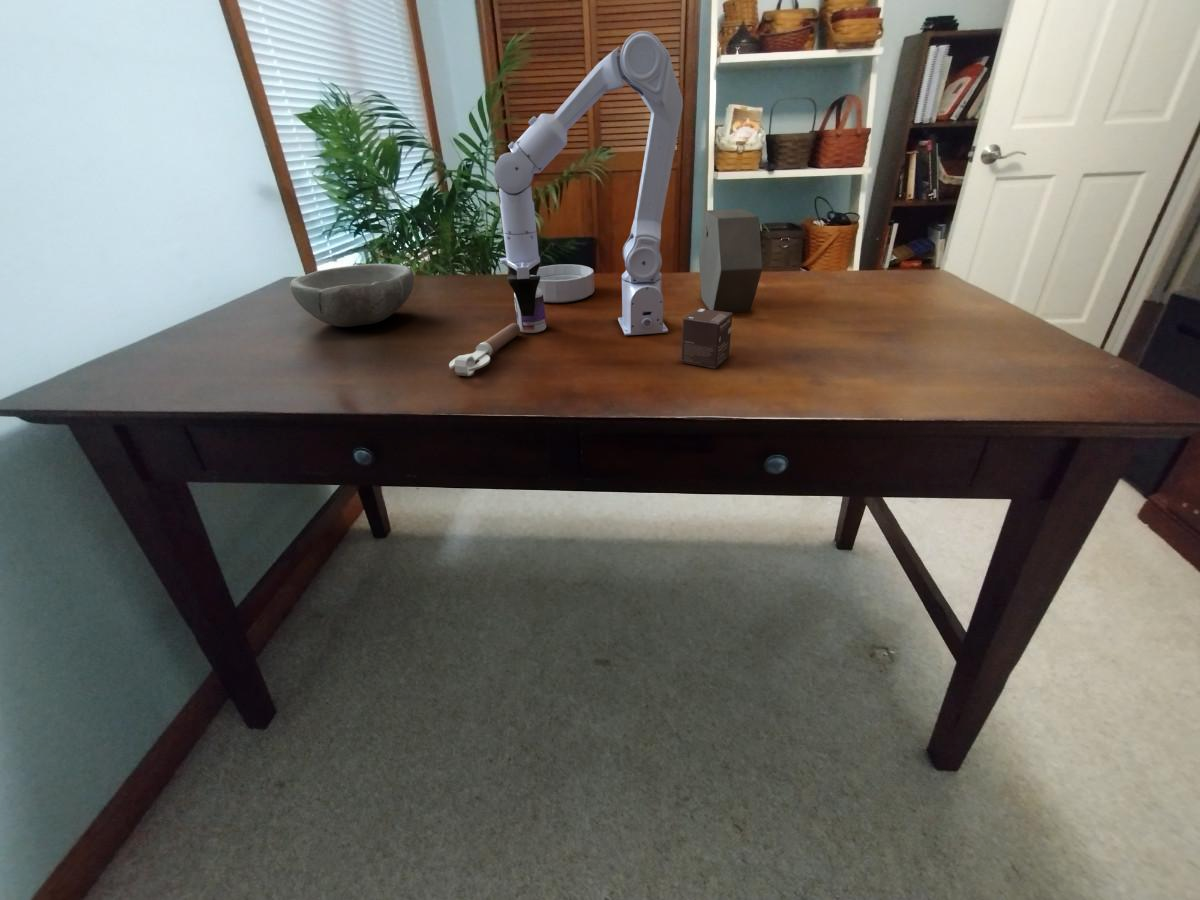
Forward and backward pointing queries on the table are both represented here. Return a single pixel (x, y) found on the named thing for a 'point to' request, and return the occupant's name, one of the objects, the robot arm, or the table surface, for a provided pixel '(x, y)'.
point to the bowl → (354, 293)
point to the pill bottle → (538, 319)
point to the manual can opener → (483, 351)
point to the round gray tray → (565, 282)
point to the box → (706, 338)
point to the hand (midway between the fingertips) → (528, 309)
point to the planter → (730, 260)
